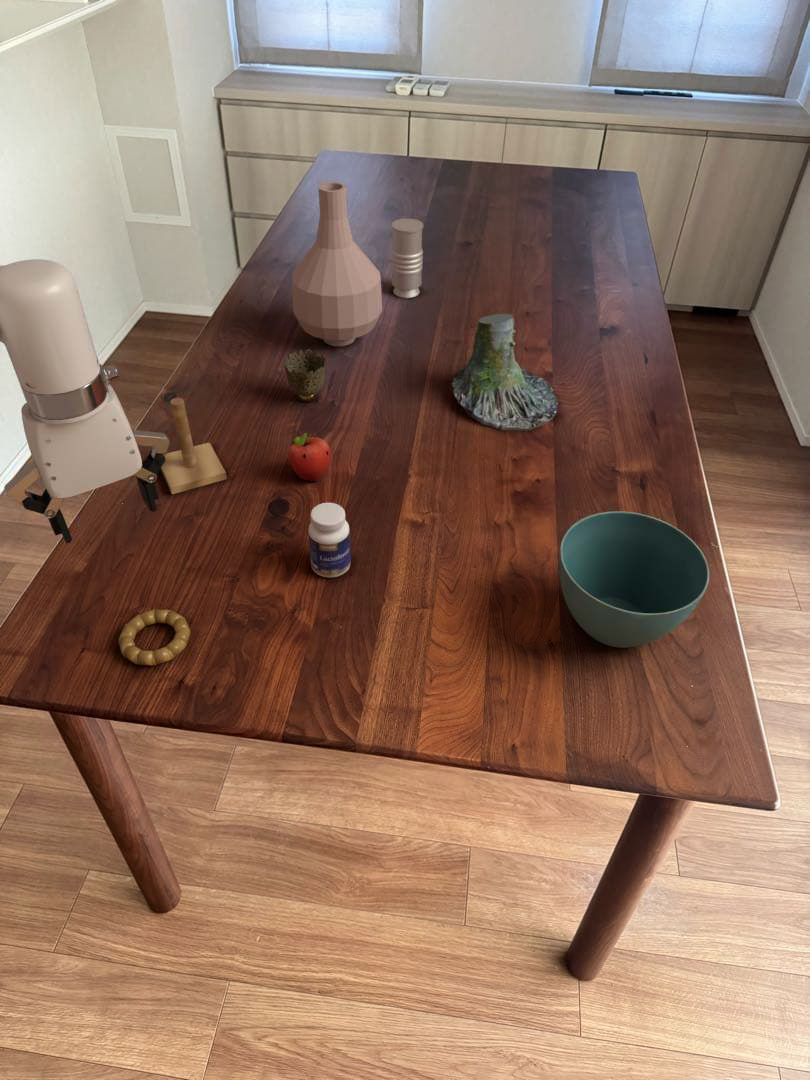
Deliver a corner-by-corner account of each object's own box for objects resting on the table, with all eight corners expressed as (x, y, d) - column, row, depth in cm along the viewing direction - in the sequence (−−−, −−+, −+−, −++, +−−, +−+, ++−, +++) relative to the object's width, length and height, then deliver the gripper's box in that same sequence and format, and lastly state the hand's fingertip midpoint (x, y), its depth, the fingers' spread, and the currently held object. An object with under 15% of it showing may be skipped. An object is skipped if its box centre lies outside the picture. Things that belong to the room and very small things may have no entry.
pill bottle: (322, 584, 111) (318, 532, 104) (304, 560, 115) (298, 508, 108) (358, 569, 114) (356, 517, 107) (339, 546, 117) (336, 494, 110)
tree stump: (499, 447, 136) (488, 347, 127) (434, 416, 151) (420, 325, 142) (579, 410, 143) (574, 313, 133) (510, 384, 158) (501, 295, 149)
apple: (287, 466, 131) (281, 415, 124) (328, 460, 132) (324, 410, 125) (294, 495, 125) (289, 444, 119) (336, 489, 127) (334, 437, 120)
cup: (336, 398, 146) (334, 359, 140) (306, 414, 142) (302, 375, 136) (309, 383, 150) (306, 344, 144) (279, 398, 146) (274, 359, 140)
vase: (313, 312, 170) (303, 165, 149) (392, 324, 167) (393, 175, 146) (282, 352, 158) (267, 198, 137) (367, 366, 154) (364, 210, 134)
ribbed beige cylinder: (420, 284, 181) (422, 218, 170) (422, 298, 176) (424, 231, 165) (390, 284, 180) (390, 218, 170) (391, 298, 175) (391, 231, 165)
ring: (129, 677, 99) (126, 668, 98) (114, 629, 105) (111, 620, 104) (198, 653, 102) (196, 644, 101) (180, 607, 108) (177, 598, 107)
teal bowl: (664, 574, 114) (685, 510, 105) (701, 677, 100) (730, 613, 92) (538, 575, 113) (550, 510, 105) (558, 679, 100) (574, 614, 91)
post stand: (171, 494, 125) (154, 423, 116) (157, 463, 131) (140, 393, 122) (227, 479, 128) (214, 408, 119) (210, 449, 134) (197, 379, 125)
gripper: (138, 350, 84) (169, 476, 96) (-36, 398, 77) (22, 528, 89) (163, 382, 79) (193, 511, 91) (-19, 437, 72) (39, 569, 84)
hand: (108, 519), depth 90 cm, fingers open, 9 cm apart
